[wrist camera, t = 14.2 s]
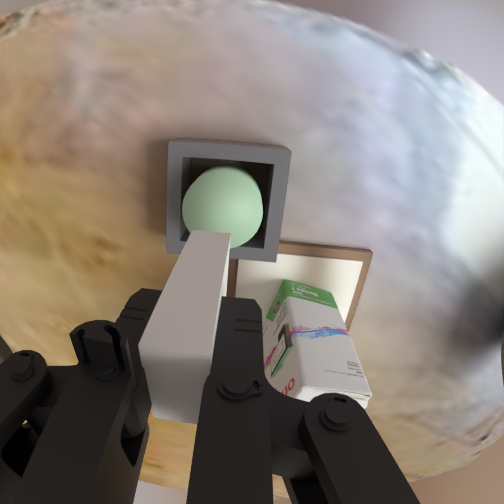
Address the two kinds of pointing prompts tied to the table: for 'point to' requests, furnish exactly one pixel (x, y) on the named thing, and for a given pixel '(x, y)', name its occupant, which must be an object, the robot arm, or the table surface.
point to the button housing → (184, 149)
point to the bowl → (502, 356)
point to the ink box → (310, 346)
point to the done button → (224, 203)
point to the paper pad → (303, 275)
